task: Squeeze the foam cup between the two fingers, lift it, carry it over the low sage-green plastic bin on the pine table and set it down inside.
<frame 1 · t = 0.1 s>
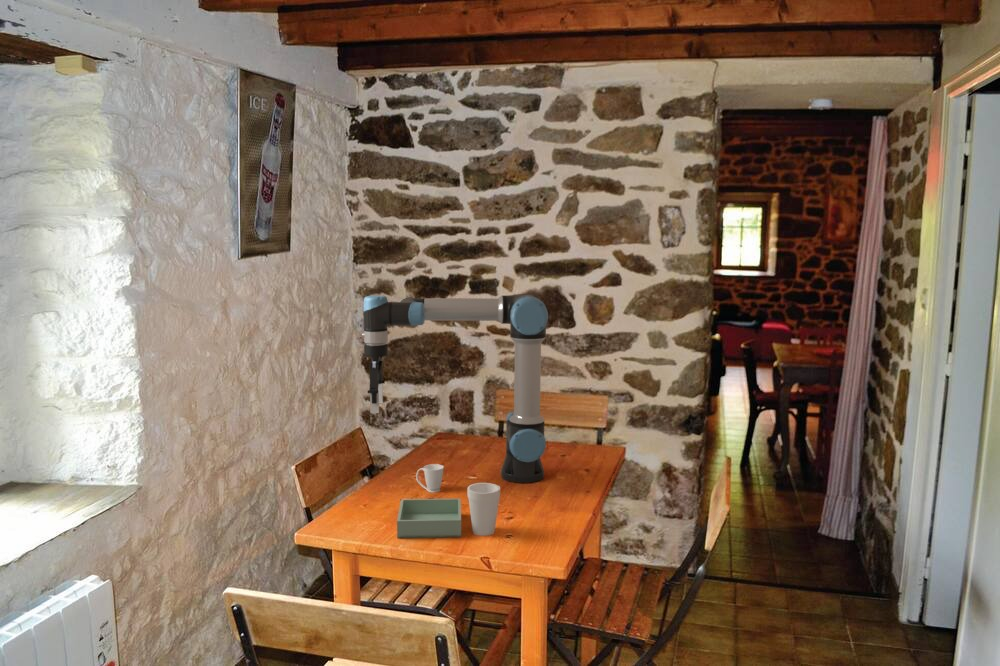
hand: (376, 408, 263), 28 cm above the table, fingers open, 13 cm apart
foam cup: (483, 532, 232), on the table
cup: (429, 490, 268), on the table
bin: (430, 525, 236), on the table
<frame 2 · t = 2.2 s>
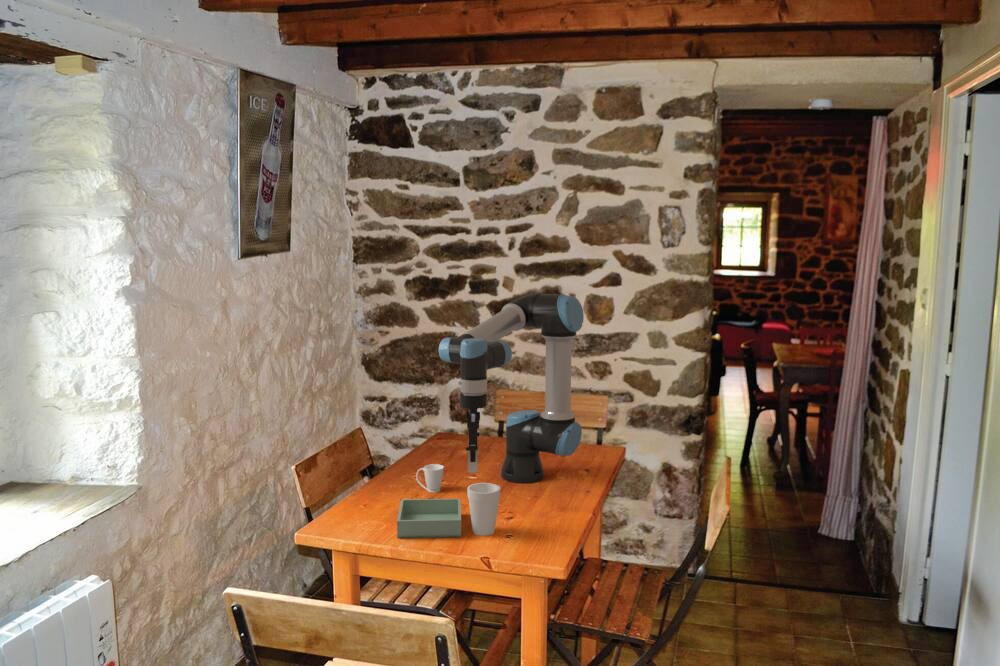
hand: (472, 465, 232), 19 cm above the table, fingers open, 13 cm apart
nothing on the table moved.
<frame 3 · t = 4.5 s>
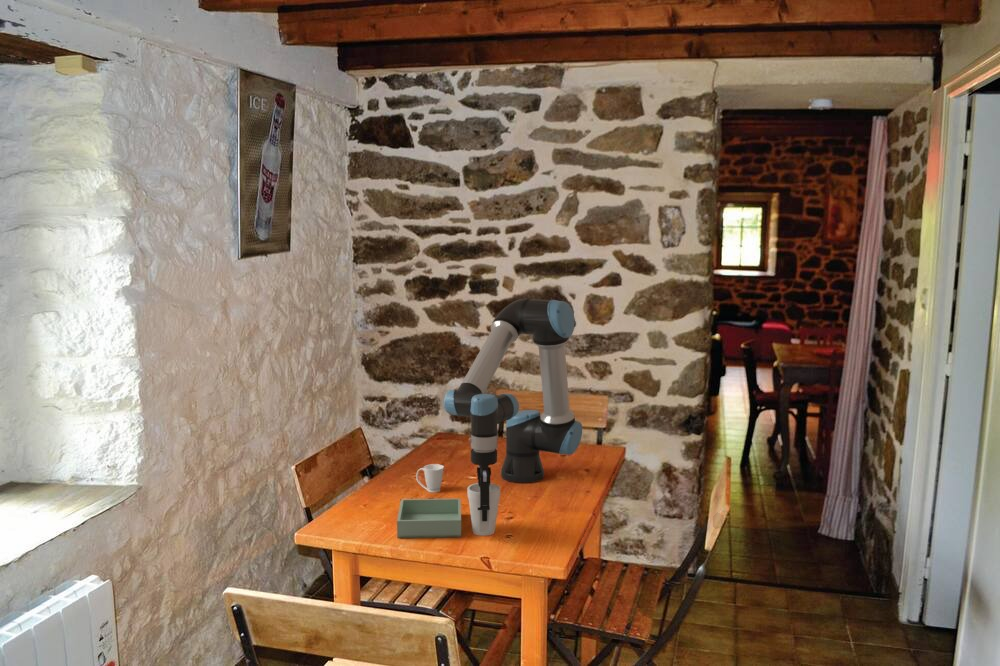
hand: (483, 524, 232), 2 cm above the table, fingers closed on foam cup, 9 cm apart
foam cup: (483, 532, 232), on the table, touching gripper
everything else where it was.
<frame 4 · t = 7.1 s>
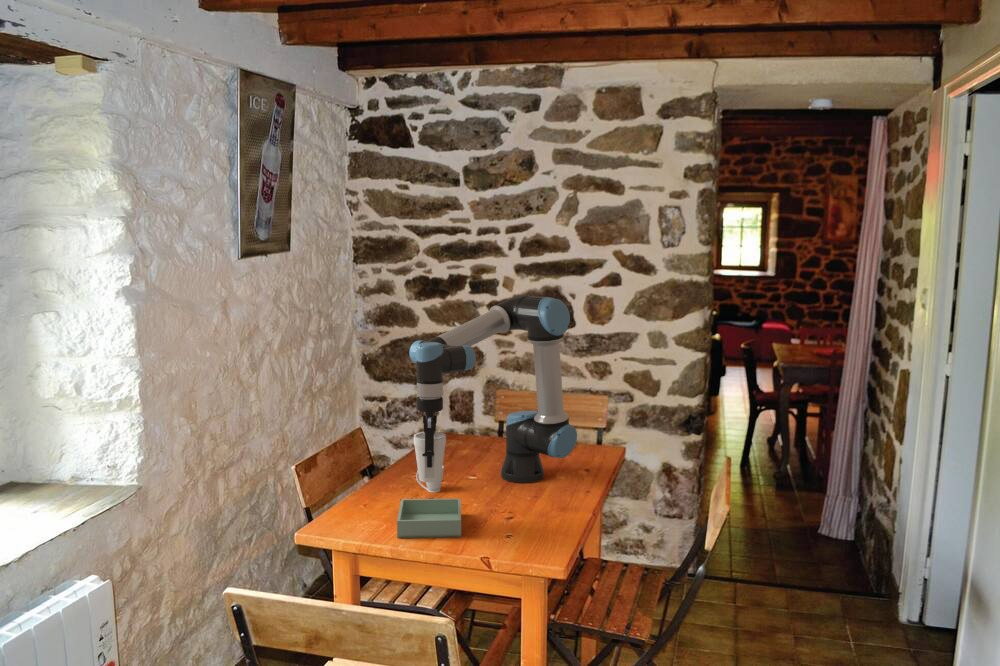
hand: (430, 472, 234), 16 cm above the table, fingers closed on foam cup, 9 cm apart
foam cup: (430, 479, 234), point 14 cm above the table, touching gripper
everything else where it was.
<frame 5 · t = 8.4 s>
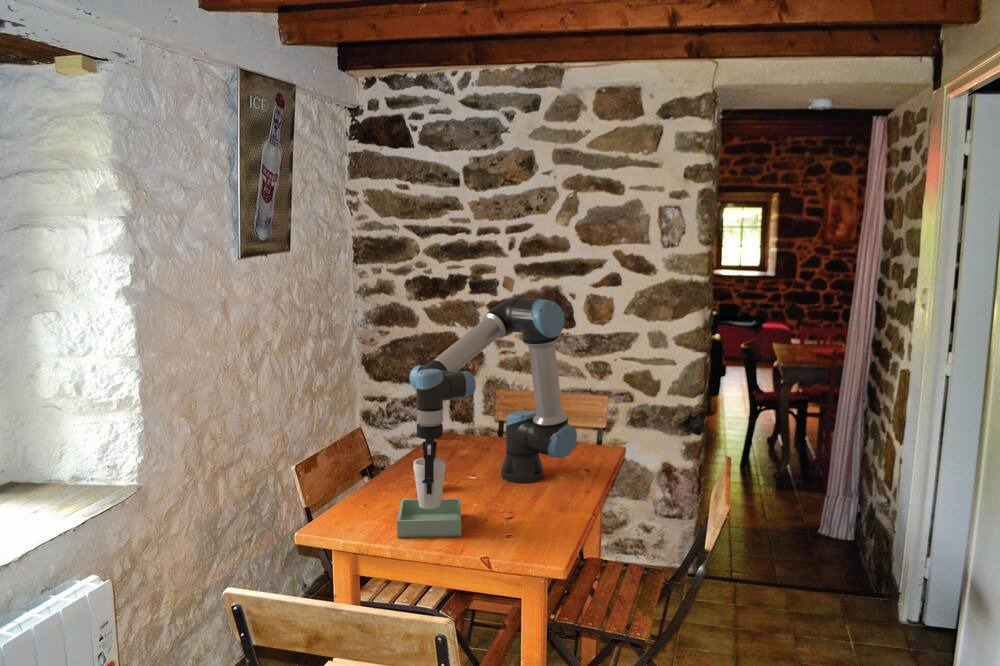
hand: (429, 498, 235), 8 cm above the table, fingers closed on foam cup, 9 cm apart
foam cup: (429, 505, 236), point 6 cm above the table, touching gripper
everything else where it was.
when the fingers open (5 cm above the table, at t = 9.6 s): foam cup drops 2 cm, resting on bin.
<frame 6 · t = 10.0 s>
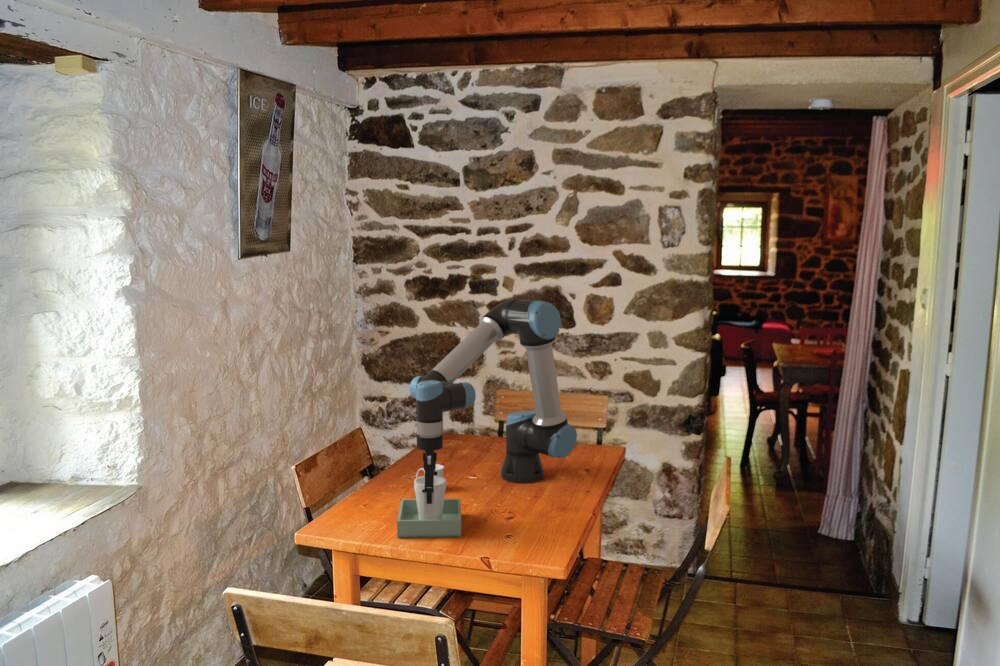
hand: (430, 505, 236), 6 cm above the table, fingers open, 13 cm apart
foam cup: (430, 523, 237), resting on bin
everything else where it was.
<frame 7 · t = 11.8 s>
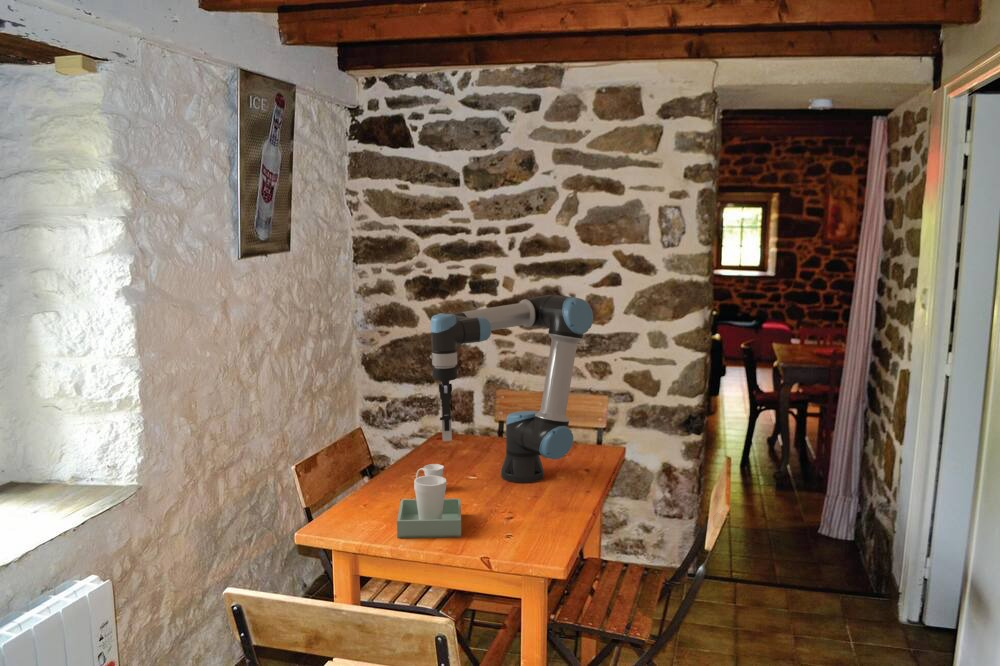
hand: (446, 434, 245), 24 cm above the table, fingers open, 13 cm apart
nothing on the table moved.
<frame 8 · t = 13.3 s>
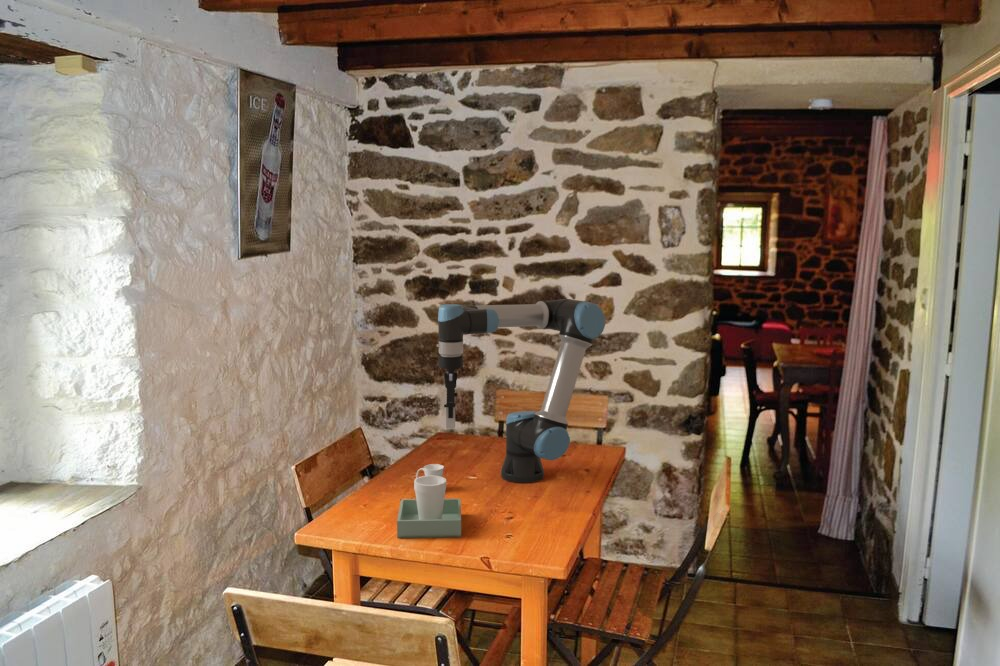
hand: (450, 422, 250), 27 cm above the table, fingers open, 13 cm apart
nothing on the table moved.
at the end: foam cup inside the target area on the bin (0.4 cm from its centre), point 0.4 cm above the bin's base; foam cup tilted 0°; the gripper is holding nothing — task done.
